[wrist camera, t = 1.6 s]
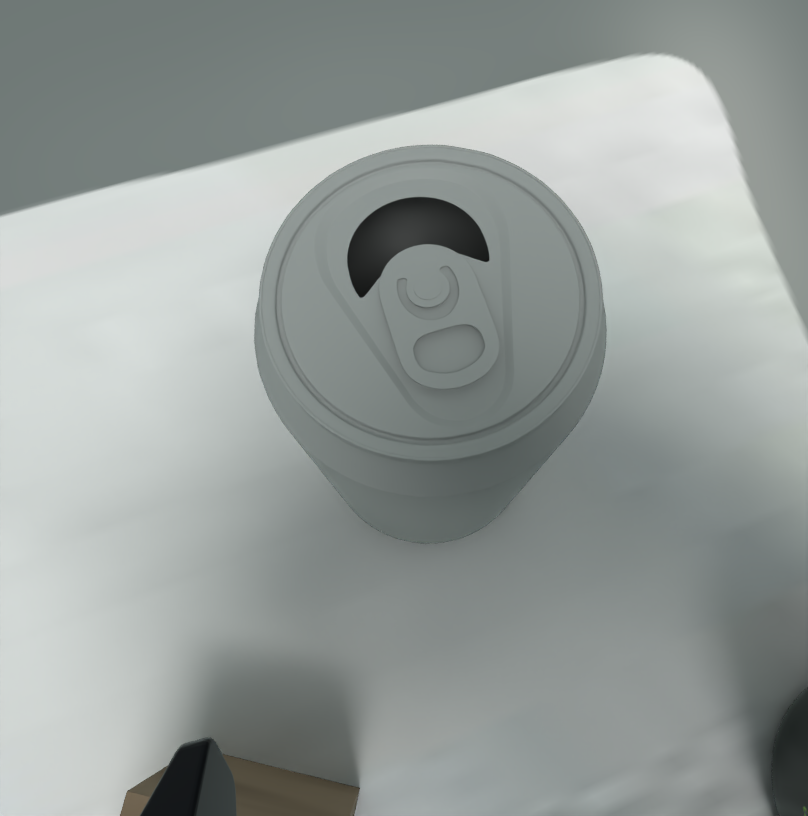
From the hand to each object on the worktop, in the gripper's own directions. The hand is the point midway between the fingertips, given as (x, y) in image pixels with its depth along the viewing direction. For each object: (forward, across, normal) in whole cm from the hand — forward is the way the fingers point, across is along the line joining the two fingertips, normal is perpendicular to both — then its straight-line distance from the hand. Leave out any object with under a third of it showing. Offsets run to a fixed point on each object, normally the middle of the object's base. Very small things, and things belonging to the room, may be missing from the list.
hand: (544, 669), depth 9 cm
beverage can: (+13, 0, +5) cm, 14 cm away
